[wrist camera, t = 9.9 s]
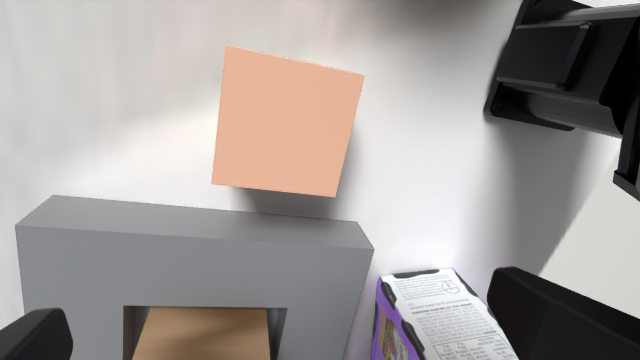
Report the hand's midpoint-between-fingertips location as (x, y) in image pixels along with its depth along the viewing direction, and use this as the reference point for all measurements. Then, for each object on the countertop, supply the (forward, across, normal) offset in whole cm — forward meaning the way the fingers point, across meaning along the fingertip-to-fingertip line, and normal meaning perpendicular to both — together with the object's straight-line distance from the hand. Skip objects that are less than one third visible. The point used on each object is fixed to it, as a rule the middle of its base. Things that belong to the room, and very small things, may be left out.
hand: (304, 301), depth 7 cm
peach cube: (+12, 0, -2) cm, 12 cm away
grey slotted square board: (+12, +4, +12) cm, 17 cm away
